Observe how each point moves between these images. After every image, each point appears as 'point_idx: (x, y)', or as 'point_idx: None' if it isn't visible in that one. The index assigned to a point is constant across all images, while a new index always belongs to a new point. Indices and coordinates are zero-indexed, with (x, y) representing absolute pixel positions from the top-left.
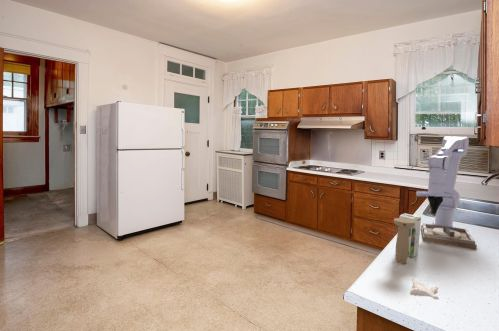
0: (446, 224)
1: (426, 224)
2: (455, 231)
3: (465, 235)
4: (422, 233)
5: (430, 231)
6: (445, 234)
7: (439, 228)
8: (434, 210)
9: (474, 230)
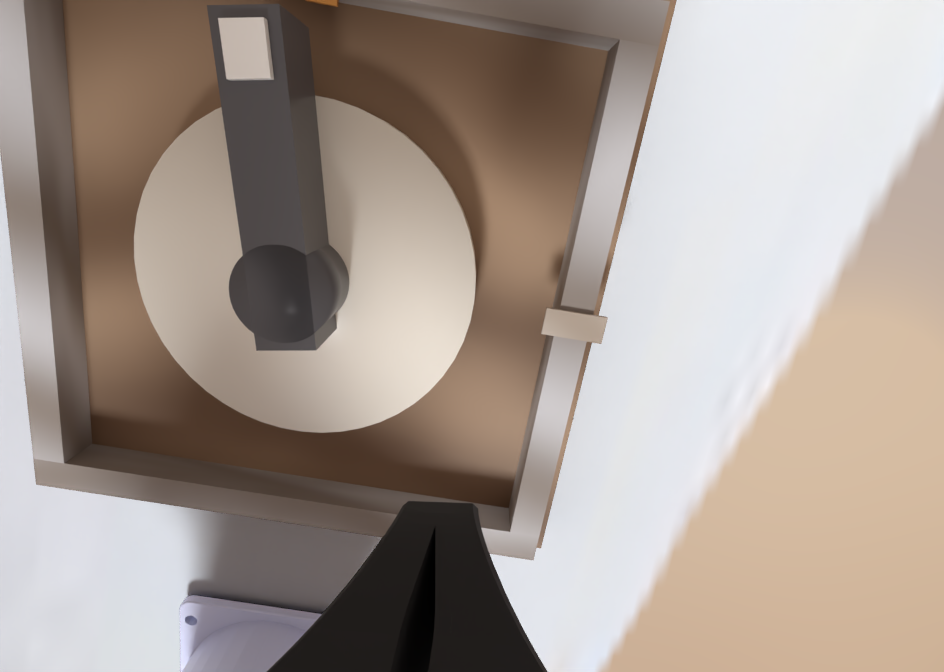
0: (244, 645)
1: (495, 525)
2: (186, 334)
3: (94, 313)
4: (618, 223)
5: (493, 329)
6: (347, 124)
7: (369, 399)
8: (439, 543)
9: (5, 622)
